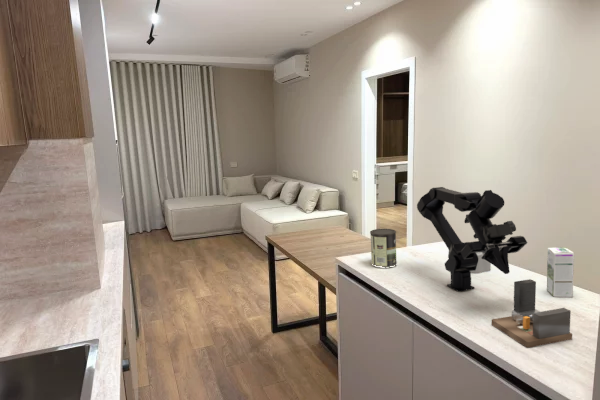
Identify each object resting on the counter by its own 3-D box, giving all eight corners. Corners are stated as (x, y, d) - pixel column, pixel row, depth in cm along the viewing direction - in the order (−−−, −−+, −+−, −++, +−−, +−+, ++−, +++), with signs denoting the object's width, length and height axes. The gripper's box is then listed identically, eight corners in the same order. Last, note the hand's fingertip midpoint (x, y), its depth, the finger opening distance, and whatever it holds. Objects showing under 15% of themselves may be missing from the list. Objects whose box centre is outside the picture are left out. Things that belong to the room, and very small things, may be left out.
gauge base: (491, 324, 114) (491, 298, 112) (532, 317, 116) (532, 292, 115) (527, 347, 101) (528, 319, 100) (572, 339, 103) (573, 311, 102)
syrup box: (573, 297, 128) (575, 252, 125) (552, 297, 129) (554, 252, 126) (565, 290, 133) (567, 247, 131) (545, 290, 134) (547, 247, 132)
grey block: (472, 274, 152) (472, 252, 151) (448, 265, 164) (448, 244, 163) (494, 270, 156) (494, 247, 154) (469, 261, 168) (469, 240, 166)
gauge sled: (507, 319, 112) (508, 282, 111) (530, 315, 114) (531, 279, 112) (522, 327, 107) (523, 289, 105) (546, 323, 109) (547, 285, 107)
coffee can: (393, 260, 175) (393, 227, 172) (399, 268, 164) (398, 233, 162) (369, 261, 175) (368, 229, 173) (373, 269, 165) (372, 235, 163)
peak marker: (522, 327, 107) (523, 316, 106) (526, 327, 107) (527, 316, 106) (525, 329, 106) (525, 318, 105) (529, 328, 106) (530, 317, 106)
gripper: (467, 215, 118) (492, 263, 109) (523, 209, 121) (552, 255, 113) (451, 235, 127) (473, 282, 118) (504, 229, 130) (529, 273, 121)
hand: (507, 273), depth 117 cm, fingers closed
